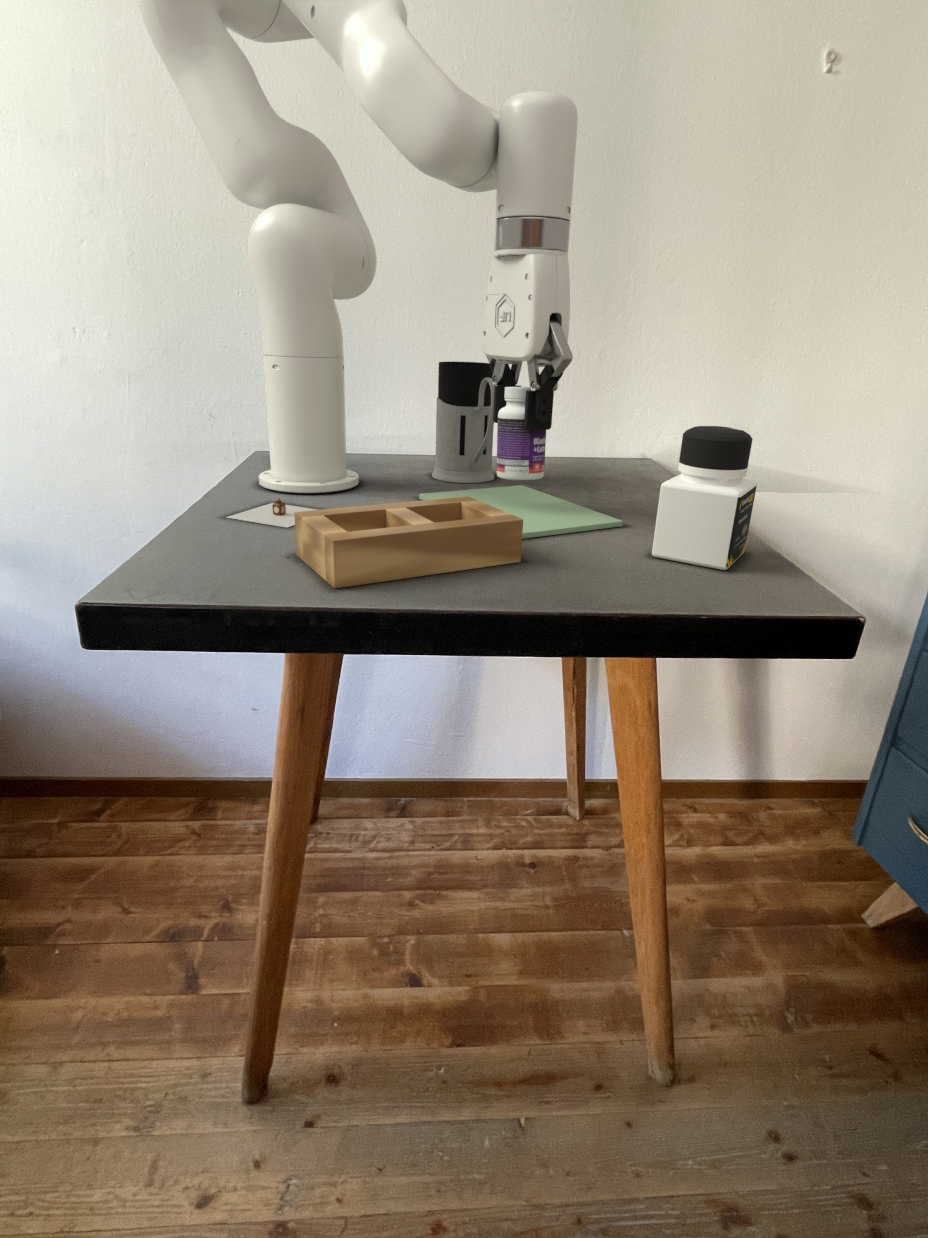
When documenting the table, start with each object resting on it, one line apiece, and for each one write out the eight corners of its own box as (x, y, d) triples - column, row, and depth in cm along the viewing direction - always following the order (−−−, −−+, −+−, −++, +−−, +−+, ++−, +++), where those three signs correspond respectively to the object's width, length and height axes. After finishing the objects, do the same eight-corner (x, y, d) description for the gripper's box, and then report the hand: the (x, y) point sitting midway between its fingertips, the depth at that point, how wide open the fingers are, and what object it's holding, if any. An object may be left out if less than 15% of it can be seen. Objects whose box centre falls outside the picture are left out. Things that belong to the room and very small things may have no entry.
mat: (418, 498, 89) (418, 493, 89) (521, 489, 96) (522, 484, 96) (507, 540, 73) (507, 535, 73) (623, 526, 80) (623, 520, 80)
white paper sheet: (331, 511, 82) (330, 494, 81) (287, 527, 75) (286, 509, 75) (272, 502, 85) (271, 486, 84) (225, 517, 78) (223, 499, 78)
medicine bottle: (726, 571, 66) (750, 436, 62) (650, 557, 70) (667, 427, 65) (744, 553, 72) (768, 427, 68) (673, 540, 76) (690, 420, 71)
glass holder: (480, 469, 108) (485, 361, 103) (520, 489, 96) (528, 368, 91) (423, 471, 105) (425, 360, 100) (457, 492, 93) (461, 367, 88)
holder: (296, 555, 67) (294, 511, 65) (467, 534, 75) (468, 496, 74) (334, 589, 59) (332, 540, 57) (520, 562, 67) (523, 519, 66)
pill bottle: (541, 481, 80) (545, 387, 77) (492, 480, 81) (494, 387, 78) (546, 474, 85) (550, 386, 82) (500, 473, 86) (502, 385, 83)
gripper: (458, 245, 80) (454, 417, 86) (550, 231, 66) (537, 438, 73) (516, 250, 83) (508, 415, 90) (615, 238, 69) (597, 435, 76)
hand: (521, 424), depth 81 cm, fingers closed on pill bottle, 5 cm apart
